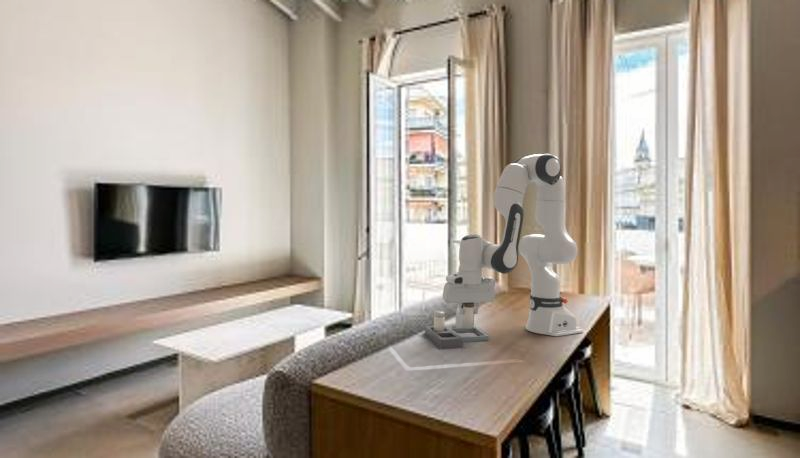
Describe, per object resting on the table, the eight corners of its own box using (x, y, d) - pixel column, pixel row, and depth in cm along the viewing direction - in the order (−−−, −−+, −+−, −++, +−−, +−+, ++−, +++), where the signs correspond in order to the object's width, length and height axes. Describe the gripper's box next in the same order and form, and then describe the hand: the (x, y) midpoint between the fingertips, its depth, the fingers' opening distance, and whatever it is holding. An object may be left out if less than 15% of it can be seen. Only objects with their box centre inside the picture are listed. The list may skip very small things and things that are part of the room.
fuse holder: (421, 335, 187) (421, 325, 187) (445, 334, 190) (445, 324, 190) (438, 352, 168) (439, 340, 168) (465, 350, 171) (466, 339, 170)
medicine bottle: (472, 331, 195) (473, 301, 195) (455, 329, 197) (456, 300, 196) (473, 326, 202) (474, 298, 202) (456, 325, 204) (457, 297, 203)
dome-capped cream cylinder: (441, 335, 185) (442, 310, 185) (445, 338, 181) (446, 313, 181) (432, 335, 184) (432, 311, 184) (435, 338, 180) (436, 313, 180)
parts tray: (474, 333, 192) (475, 327, 192) (488, 342, 181) (488, 335, 181) (448, 334, 189) (449, 328, 189) (460, 344, 178) (460, 337, 178)
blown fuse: (470, 325, 187) (471, 301, 186) (474, 328, 183) (475, 303, 183) (461, 326, 186) (461, 301, 185) (465, 328, 182) (466, 303, 182)
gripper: (491, 276, 189) (489, 311, 190) (441, 276, 184) (440, 312, 185) (498, 278, 183) (497, 315, 184) (447, 279, 178) (446, 316, 179)
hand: (468, 314), depth 184 cm, fingers closed on blown fuse, 4 cm apart
